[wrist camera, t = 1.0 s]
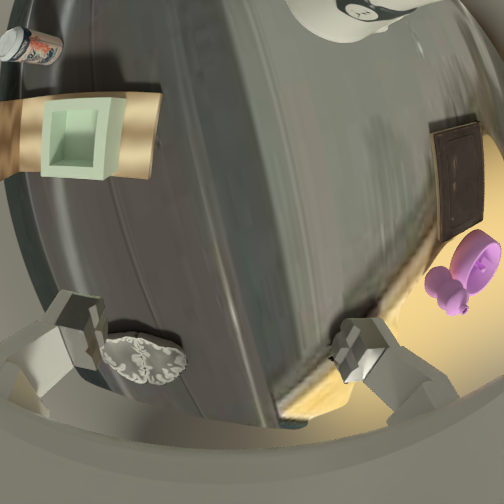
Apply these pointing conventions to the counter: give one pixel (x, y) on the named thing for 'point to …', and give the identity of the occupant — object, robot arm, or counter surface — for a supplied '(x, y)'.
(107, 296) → the counter surface
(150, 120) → the board
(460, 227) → the hardcover book
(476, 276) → the container set
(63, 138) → the socket block
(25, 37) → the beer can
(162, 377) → the brain slice
